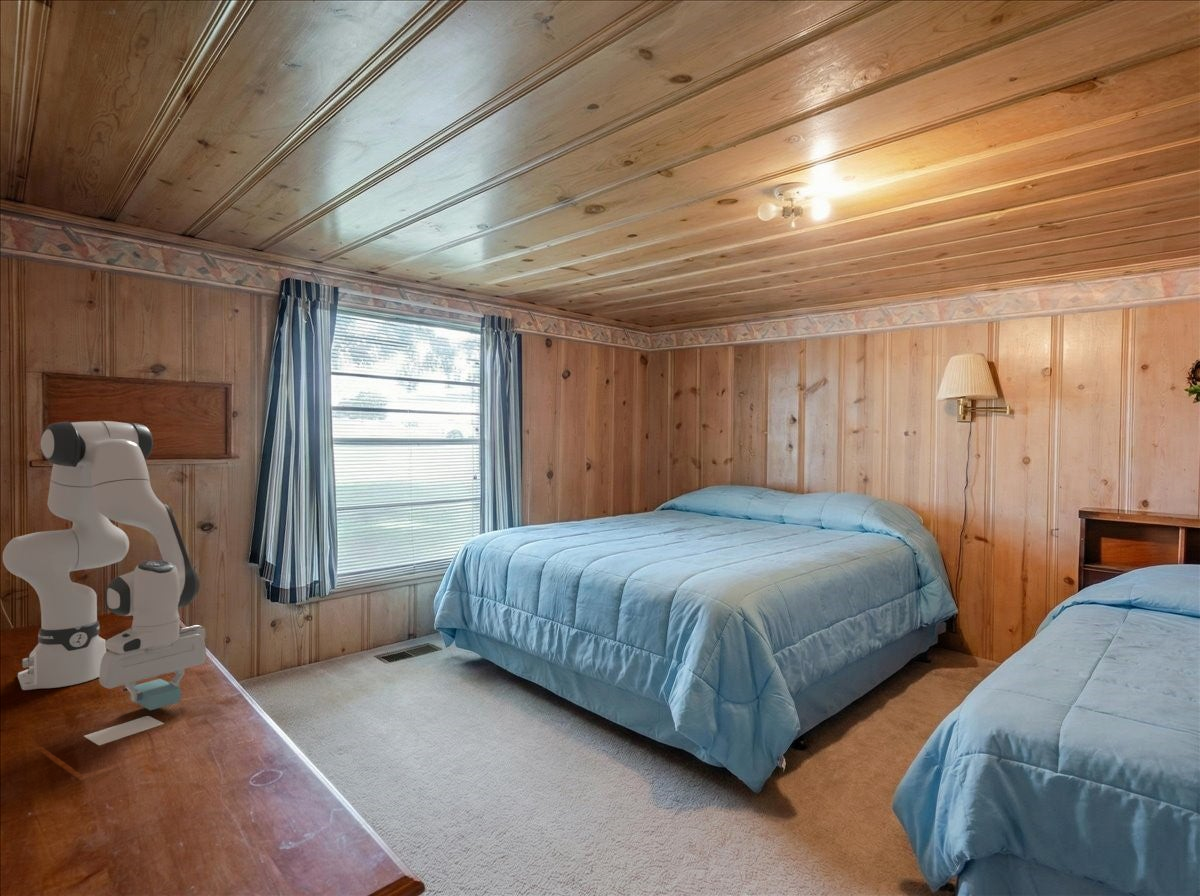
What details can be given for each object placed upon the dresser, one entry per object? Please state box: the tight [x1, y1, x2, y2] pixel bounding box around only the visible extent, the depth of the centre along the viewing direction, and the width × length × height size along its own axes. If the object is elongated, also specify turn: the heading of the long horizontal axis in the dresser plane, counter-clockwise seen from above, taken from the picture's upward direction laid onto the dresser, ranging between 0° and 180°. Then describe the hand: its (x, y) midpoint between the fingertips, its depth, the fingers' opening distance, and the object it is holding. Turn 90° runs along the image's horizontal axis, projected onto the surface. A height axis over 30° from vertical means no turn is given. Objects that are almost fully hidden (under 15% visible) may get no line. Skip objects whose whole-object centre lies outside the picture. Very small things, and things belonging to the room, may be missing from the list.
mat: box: [83, 715, 165, 746], centre depth 136 cm, size 17×18×1 cm
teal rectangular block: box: [129, 678, 182, 711], centre depth 141 cm, size 10×6×3 cm, turn 58°
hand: (155, 694), depth 141 cm, fingers closed on teal rectangular block, 6 cm apart
